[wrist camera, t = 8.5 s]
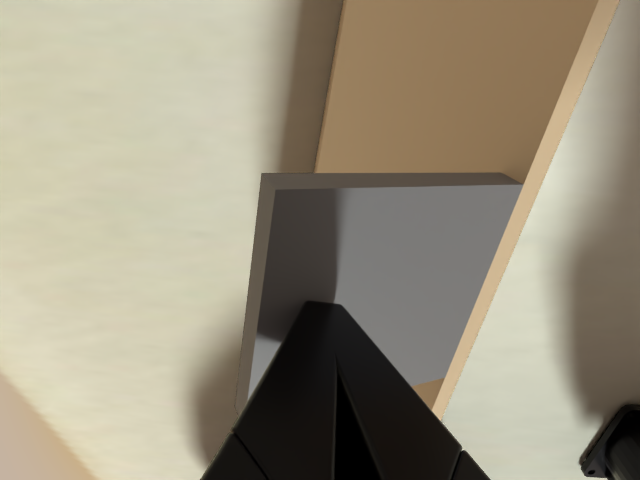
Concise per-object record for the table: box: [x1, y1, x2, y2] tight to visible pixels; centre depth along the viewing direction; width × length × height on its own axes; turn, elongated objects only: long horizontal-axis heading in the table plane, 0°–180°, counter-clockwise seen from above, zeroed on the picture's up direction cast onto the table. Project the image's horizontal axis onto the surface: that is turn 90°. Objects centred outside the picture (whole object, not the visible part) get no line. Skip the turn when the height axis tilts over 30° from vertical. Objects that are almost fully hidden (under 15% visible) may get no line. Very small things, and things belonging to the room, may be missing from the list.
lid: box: [235, 0, 620, 421], centre depth 12 cm, size 18×8×6 cm
